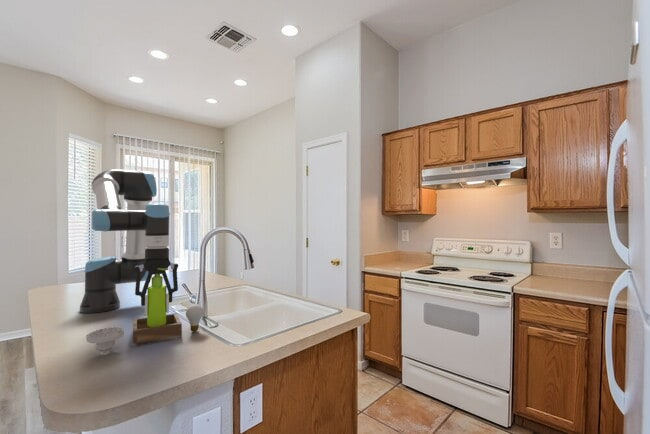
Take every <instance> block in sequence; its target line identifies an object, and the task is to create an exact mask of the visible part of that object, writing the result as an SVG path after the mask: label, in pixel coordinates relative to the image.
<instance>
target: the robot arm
mask: <svg viewBox="0 0 650 434" xmlns="http://www.w3.org/2000/svg"><path fill="white" fill-rule="evenodd" d="M156 181H157V180H156V177H155V174H153V173H152V172H150V171H143V170H133V169H130V170H129V169H119V168H112V169H107V170H104V171H102V172H100V173H99V174H97V175H96V176H95V177H93V180H92V181H91V190H92V193H93V194H94V195H95V201H96V208H97V209H93V210H92V211H91V228H92V230H93V231H95V232H122V231H125V233H126V235H125V236H126V237H125V238H126V239H125V251H124V253H122V255H121V258H119V259H118V258H117V257H116V256H114V255H113V256H112V255H111V256H104V257H98V258H94V259H89V260H88V261H86V262H85V267H84V295H83V297H82V300H81V302H80V305H79V312H80V313H82V314H96V313H103V312H108V311H113V310H115V309H118V308H120V306H121V300H120V297H119V295H118V293H117V288H116V287H117V285H120V284H127V283H128V284H129V283H135V288H134V289H135V290H134V294H135V296H139V297H140V305H141V307H144V316H145V317H147V316H148V296H147V293H148V287H150V286H149V285H150V282H151V281H152V277H153V276H155V274H160V275H161V276H162V277H163V281H164V283H165V286H166V290H167V292H166V314H170V303H172V302H173V294H174V293H175V292H177V291H178V290H179V286H178V285H179V284H178V268H179V264H178V263H176V262H175V263H174V262H171V261H170V248H169V246H170V216H171V215H170V213H171V212H170V206H169V205H168V204H165V203H151V202H152V201H153V198H155V197H157V191H158V190H157V189H158V188H157V183H156ZM120 196H123V200H124V201H125V202H126V203H127V207H126V208H127V209H123V208H122V204H121V199H120ZM158 268H160V269H161V268H168V269H169V268H171V270H172V283H173V284H172V286H171V283H170V281H169V278H168V274H167V270H165V271H164V270H158ZM141 282H144V284H143V287H142V290H141V291H140V288H141Z"/></svg>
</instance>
